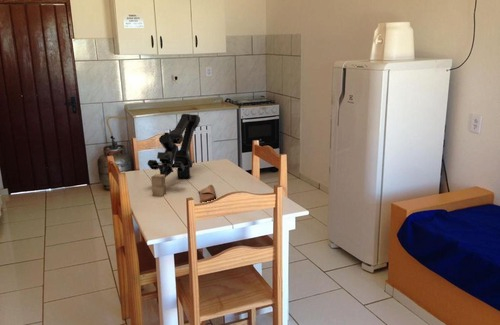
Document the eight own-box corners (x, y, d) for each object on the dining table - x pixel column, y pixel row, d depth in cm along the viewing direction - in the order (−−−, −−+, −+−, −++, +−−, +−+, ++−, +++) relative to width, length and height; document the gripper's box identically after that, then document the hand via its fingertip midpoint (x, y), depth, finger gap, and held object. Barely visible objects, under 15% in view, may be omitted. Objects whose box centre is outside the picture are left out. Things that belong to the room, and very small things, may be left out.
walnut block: (157, 192, 225) (156, 173, 222) (166, 193, 223) (165, 174, 221) (152, 196, 220) (151, 176, 217) (161, 196, 219) (160, 177, 216)
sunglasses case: (197, 191, 226) (203, 180, 225) (209, 197, 228) (215, 186, 227) (199, 203, 209) (206, 191, 208) (212, 209, 210) (219, 197, 210)
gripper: (147, 144, 226) (138, 171, 218) (181, 146, 221) (172, 173, 214) (155, 155, 235) (147, 181, 228) (188, 157, 230) (180, 184, 223)
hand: (161, 180), depth 223 cm, fingers closed
